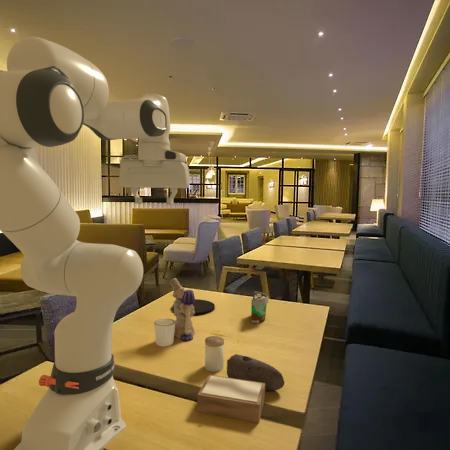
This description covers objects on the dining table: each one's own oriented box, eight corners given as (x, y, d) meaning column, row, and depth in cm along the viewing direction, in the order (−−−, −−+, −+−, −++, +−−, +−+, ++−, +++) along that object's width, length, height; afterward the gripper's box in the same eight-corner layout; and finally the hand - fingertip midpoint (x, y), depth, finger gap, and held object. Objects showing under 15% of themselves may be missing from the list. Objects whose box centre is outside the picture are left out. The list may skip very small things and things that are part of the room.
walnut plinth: (259, 422, 75) (259, 404, 75) (197, 411, 79) (197, 393, 78) (264, 399, 84) (265, 382, 84) (209, 390, 87) (209, 373, 87)
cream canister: (220, 373, 96) (221, 345, 95) (202, 370, 97) (202, 342, 96) (225, 364, 101) (226, 337, 100) (207, 361, 102) (208, 335, 101)
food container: (267, 327, 129) (268, 301, 128) (250, 326, 130) (251, 299, 129) (268, 316, 141) (269, 291, 140) (253, 314, 142) (254, 290, 141)
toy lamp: (192, 335, 121) (193, 288, 119) (196, 341, 116) (197, 292, 115) (179, 337, 119) (179, 289, 117) (182, 343, 115) (182, 293, 113)
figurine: (164, 334, 120) (165, 277, 119) (182, 327, 127) (183, 273, 125) (183, 341, 115) (183, 282, 113) (200, 334, 121) (201, 277, 120)
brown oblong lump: (286, 388, 89) (287, 362, 88) (280, 399, 84) (281, 371, 83) (233, 374, 95) (233, 349, 95) (224, 383, 91) (225, 357, 90)
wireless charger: (197, 301, 160) (197, 296, 160) (223, 311, 147) (223, 306, 147) (164, 309, 148) (164, 304, 148) (189, 321, 135) (189, 316, 135)
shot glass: (171, 348, 110) (171, 326, 110) (150, 346, 112) (150, 324, 111) (178, 339, 117) (178, 319, 116) (158, 337, 118) (158, 317, 118)
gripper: (114, 153, 98) (115, 203, 99) (185, 153, 94) (184, 205, 95) (125, 156, 104) (125, 202, 105) (191, 156, 100) (191, 204, 101)
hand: (154, 204), depth 100 cm, fingers open, 8 cm apart
